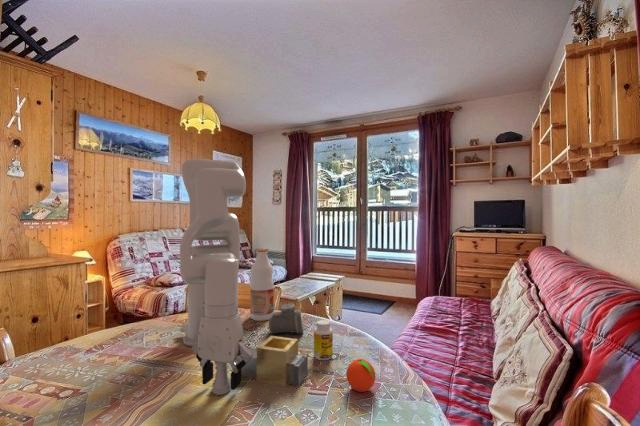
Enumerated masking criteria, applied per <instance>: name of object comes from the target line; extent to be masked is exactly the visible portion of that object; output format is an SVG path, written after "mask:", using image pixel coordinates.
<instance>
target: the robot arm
mask: <svg viewBox="0 0 640 426" xmlns="http://www.w3.org/2000/svg"><path fill="white" fill-rule="evenodd" d="M181 176H182V177H181V178H182V181H183V184H184V188H185V190H186V192H187V195H188V199H189V226H188V227H187V229H186V230H185V231H184V233H183V235H182V238H181V240H180V245H179V272H180V277H181V280H182V282H184V284H186V285H187V293H188V294H187V306H188V307H187V323H183V324H182V325H181V327H180V328H179V332H180V333H181V332H182V333H185V335H184V337H183V338H182V342H183V345H185V346H188V347H191V349H192V352H193V353H194V355H195V357H196V360H197V361H198V362H199V366H200V367H201V368H202V369H201V371H202V373H201V377H202V385H207V384H208V383H209V382H210V381H212V380H213V378H214V363H213V362H215V361H217V362H224V363H227V364H229V365H230V368H231V369H232V371H231V373H230V381H231V389H230V390H231V391H234V390H235V389H237V388H238V387H239V386H240V385H241V383H242V375H241V369H242V368H243V367H244V366H245V365H246V364H247V363H248V361H249V360H250V359H251V358H252V356H253V354H252V353H251V351H250V350H249V349H248V348H247V346H246V345H245V343H244V342H245V341H244V329H243V322H242V318H241V315H240V314H241V313H239V270H240V269H239V268H240V262H241V261H240V260H241V256H240V255H241V251H240V249H241V248H240V247H241V246H240V244H241V243H240V236H241V235H240V231H241V229H240V222H239V218H238V216H237V215H236V214H234V213H233V212H232V213H231V212H229V208H228V199H227V198H241V197H243V196H244V195H245V193H246V189H247V181H246V177H245V173H244V171H243V170H242V168H241V167H240V166H239V164H238V163H237V162H235V161H231V160H222V159H221V160H219V159H206V158H191V159H190V158H189V159H185V160H184V162H182V164H181ZM194 240H195V241H198V242H199V241H200V242H205V241H206V242H208V241H212V242H213V241H224V242H225V243H223V244H222V243H221V244H200V245H199V244H198V245H195V246H192V245H193V242H194ZM240 355H243V356H244V358H243V360H242V359H241V357H240ZM235 360H236V362H237V364H238V365H237V364H236V362H235Z"/></svg>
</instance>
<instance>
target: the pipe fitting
mask: <svg viewBox="0 0 640 426" xmlns="http://www.w3.org/2000/svg"><path fill="white" fill-rule="evenodd" d="M295 305H296V304H295V303H293V302H287V303H284V304H281V306H280V310H279V311H274V313H273V315H272V317H270V319H269V320H268V329H269V332H270V333H271V335H274V334H275V335H276V334H282V333H288V332H289V333H290V332H294V333H296V334H304V317H303V315H302V310H301V308H299V309H296V306H295Z"/></svg>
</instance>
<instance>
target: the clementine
mask: <svg viewBox="0 0 640 426" xmlns="http://www.w3.org/2000/svg"><path fill="white" fill-rule="evenodd" d="M346 380H347V383H348V385H349V386H350V388H352V389H353V390H355V391H357V392H360V393H361V392H362V393H363V392H367V391H370V389H371V388H372V387H373V386H374V385H375V382H376V371H375V367H373V365H372V364H371V363H370V361H367V360H366V359H361V358H358V359H355V360H352V362H350V364H349V365H348V366H347V369H346Z"/></svg>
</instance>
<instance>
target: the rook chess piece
mask: <svg viewBox="0 0 640 426" xmlns="http://www.w3.org/2000/svg"><path fill="white" fill-rule="evenodd" d="M214 364H215V365H216V366H215V367H214V368H215V370H216V371H215V372H216V374H215V378H214V380H213V382H212V385H211V387H212V388H211V392H212V393H213V394H214V395H217V396H222V395H226V394H227V393H228V394H229V392H230V390H231V379H230V377H229V376H228V367H229V366H228V363H224V362H217V361H214Z"/></svg>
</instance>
